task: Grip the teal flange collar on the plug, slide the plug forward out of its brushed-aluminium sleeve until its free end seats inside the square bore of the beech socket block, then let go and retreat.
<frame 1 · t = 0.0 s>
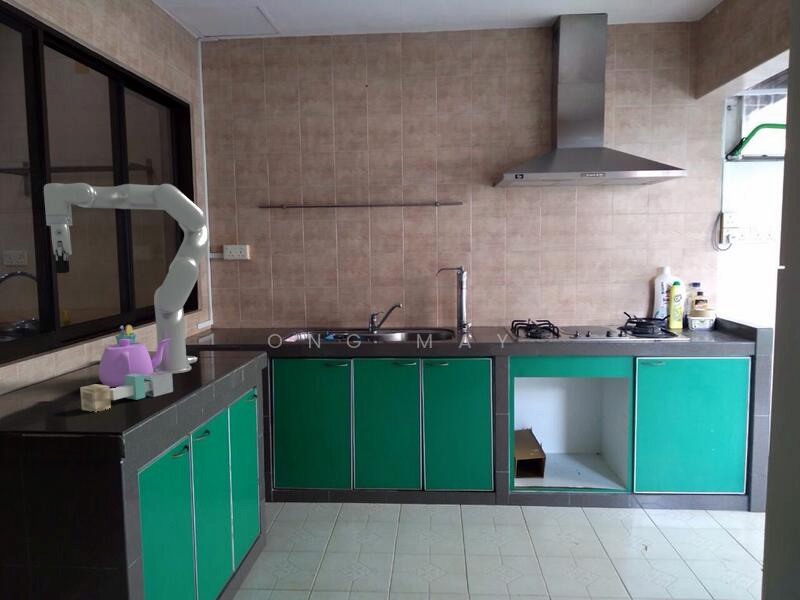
hand: (63, 272, 203), 37 cm above the worktop, tool pointing down, fingers open, 9 cm apart
socket: (96, 408, 169), on the worktop
plug: (138, 385, 181), point 4 cm above the worktop, slide at 0.0 cm
sleeve: (157, 393, 186), on the worktop
potted flower: (126, 361, 244), on the worktop
teapot: (129, 384, 202), on the worktop
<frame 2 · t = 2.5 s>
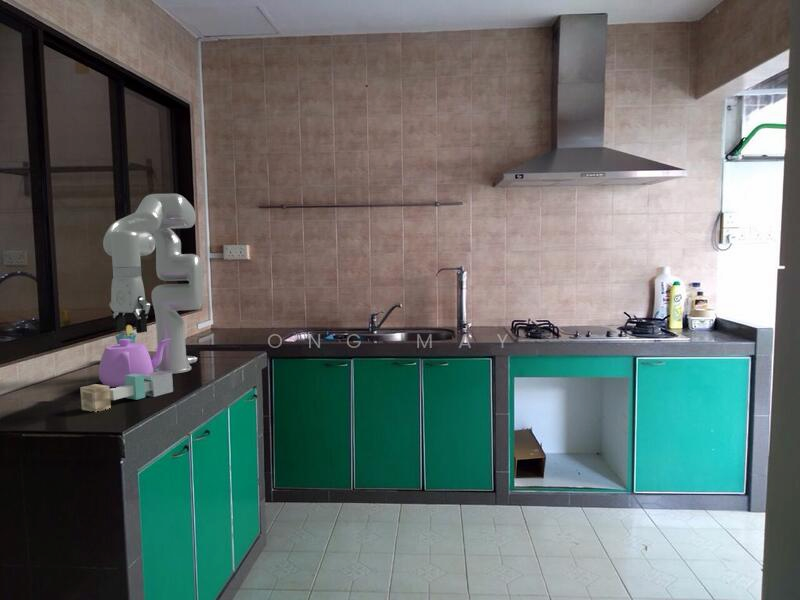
hand: (131, 331, 178), 20 cm above the worktop, tool pointing down, fingers open, 9 cm apart
nothing on the worktop moved.
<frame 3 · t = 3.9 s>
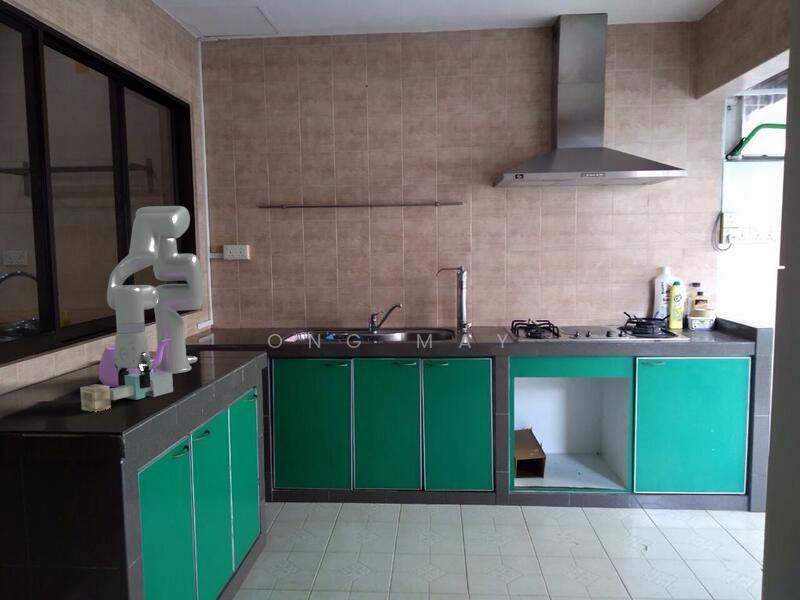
hand: (134, 386, 179), 4 cm above the worktop, tool pointing down, fingers open, 9 cm apart
nothing on the worktop moved.
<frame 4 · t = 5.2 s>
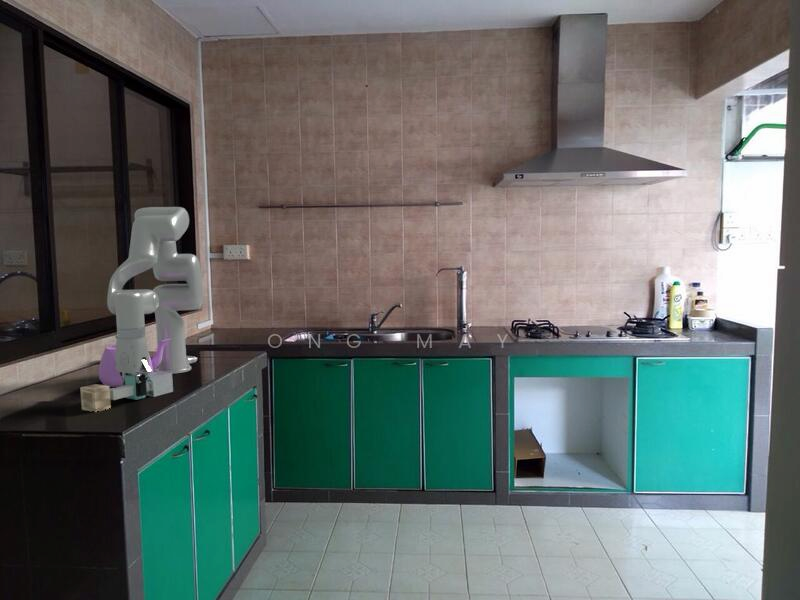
hand: (135, 394, 180), 1 cm above the worktop, tool pointing down, fingers closed on plug, 4 cm apart
plug: (138, 385, 181), point 4 cm above the worktop, slide at 0.0 cm, touching gripper
everything else where it was.
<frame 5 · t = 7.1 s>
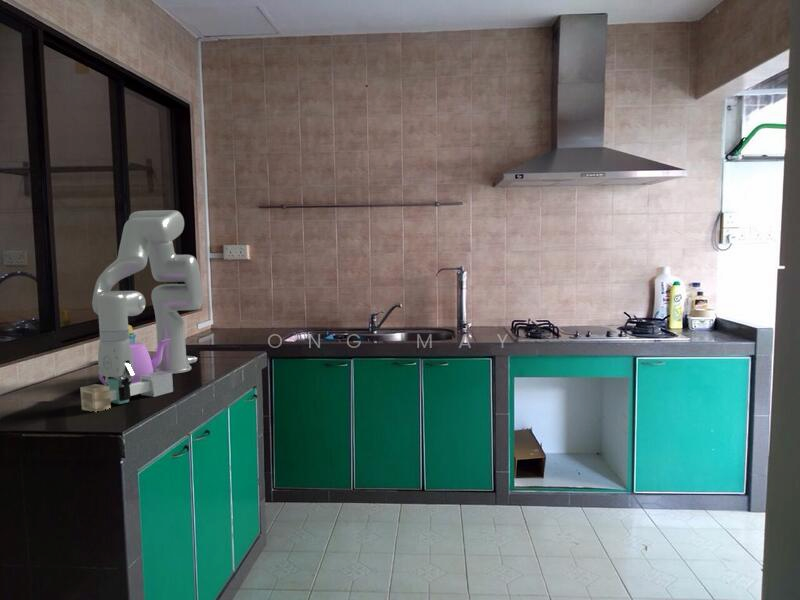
hand: (118, 398, 175), 1 cm above the worktop, tool pointing down, fingers closed on plug, 4 cm apart
plug: (122, 389, 176), point 4 cm above the worktop, slide at 5.5 cm, touching gripper
everything else where it was.
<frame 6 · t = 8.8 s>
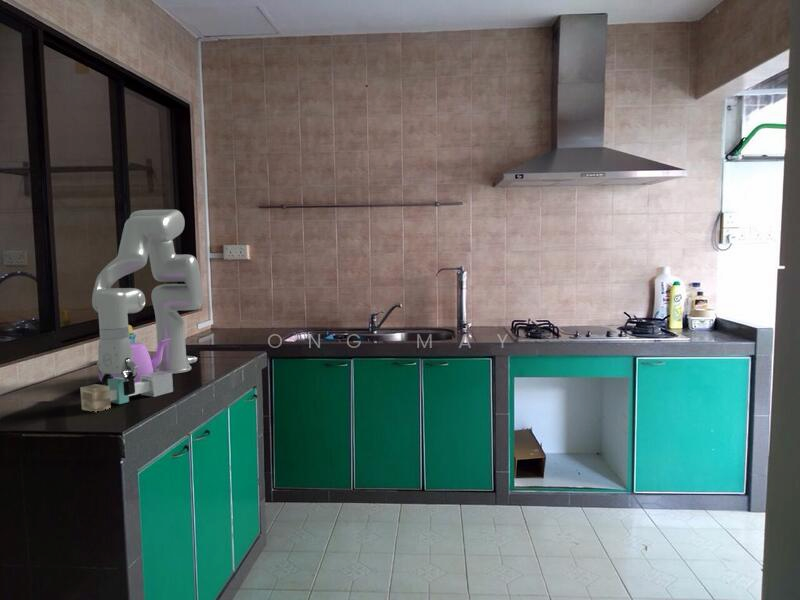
hand: (118, 392, 175), 3 cm above the worktop, tool pointing down, fingers open, 9 cm apart
plug: (122, 389, 176), point 4 cm above the worktop, slide at 5.5 cm
everything else where it was.
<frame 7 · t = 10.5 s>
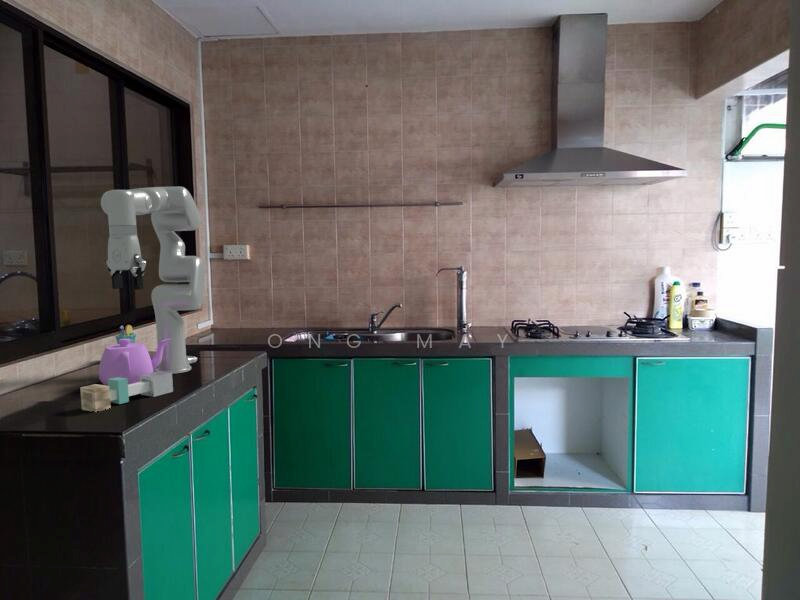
hand: (127, 288, 183), 32 cm above the worktop, tool pointing down, fingers open, 9 cm apart
nothing on the worktop moved.
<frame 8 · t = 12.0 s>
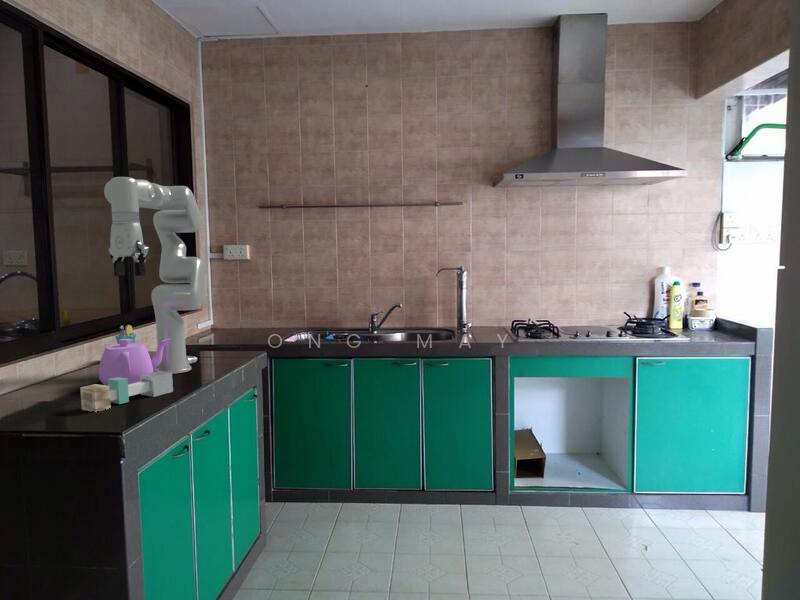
hand: (129, 275, 184), 36 cm above the worktop, tool pointing down, fingers open, 9 cm apart
nothing on the worktop moved.
at the end: plug slide at 5.5 cm; the gripper is holding nothing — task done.
